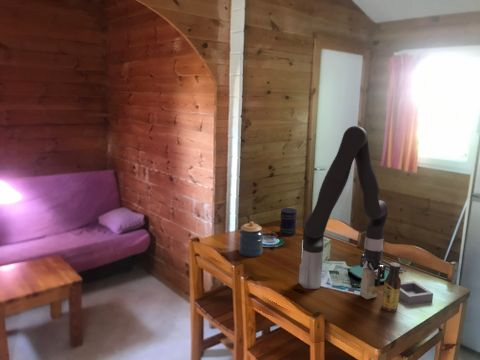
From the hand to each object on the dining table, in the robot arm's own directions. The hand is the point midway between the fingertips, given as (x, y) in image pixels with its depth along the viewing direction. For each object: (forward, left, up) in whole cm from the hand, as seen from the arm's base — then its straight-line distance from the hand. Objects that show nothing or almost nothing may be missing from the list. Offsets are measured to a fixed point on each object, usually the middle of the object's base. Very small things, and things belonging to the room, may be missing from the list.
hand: (370, 282), depth 182 cm
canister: (-36, +59, -7) cm, 69 cm away
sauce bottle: (+2, -12, -7) cm, 14 cm away
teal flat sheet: (+17, +20, -7) cm, 27 cm away
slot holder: (+17, -5, -6) cm, 19 cm away
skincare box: (-1, 0, -7) cm, 7 cm away
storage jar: (-4, +83, -7) cm, 83 cm away
